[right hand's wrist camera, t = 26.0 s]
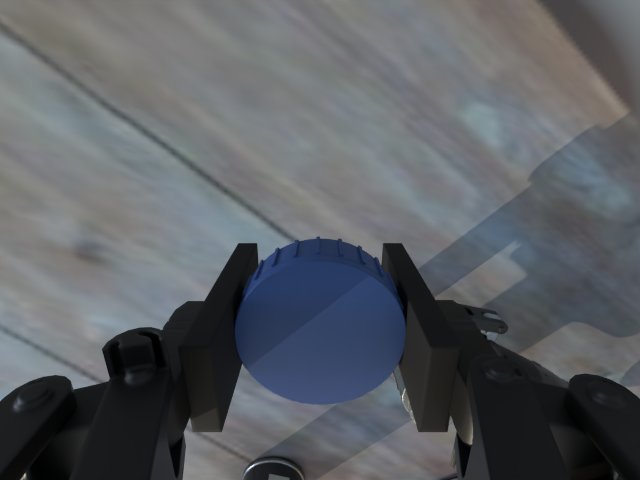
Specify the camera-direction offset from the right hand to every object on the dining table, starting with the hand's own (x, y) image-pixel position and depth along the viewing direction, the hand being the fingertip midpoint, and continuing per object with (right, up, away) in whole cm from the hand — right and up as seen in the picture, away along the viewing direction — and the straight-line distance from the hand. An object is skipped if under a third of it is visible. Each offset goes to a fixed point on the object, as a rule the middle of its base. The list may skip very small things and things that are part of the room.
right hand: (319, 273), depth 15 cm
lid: (0, -1, -4) cm, 4 cm away
